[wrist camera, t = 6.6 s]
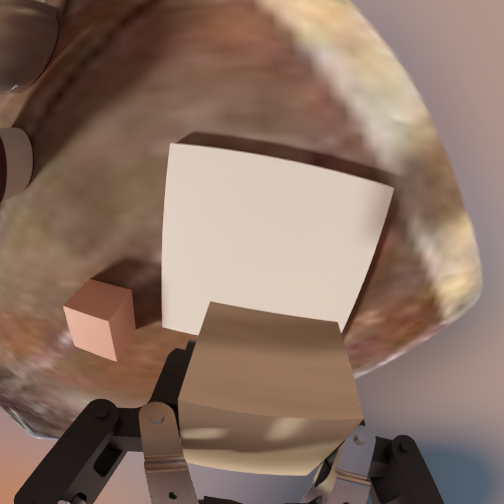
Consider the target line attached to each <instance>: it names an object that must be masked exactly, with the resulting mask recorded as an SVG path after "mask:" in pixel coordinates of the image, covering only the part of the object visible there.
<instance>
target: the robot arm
mask: <svg viewBox="0 0 504 504" xmlns="http://www.w3.org/2000/svg"><path fill="white" fill-rule="evenodd" d="M57 11H58V8H57V7H54V6H51V5H48V4H46V3H43V2H40V1H37V0H0V94H8V93H20V92H22V91H24V90H26V89H27V88H28V87H30V86H31V85H32V84H33V83H34V82H35V81H36V80H37V78H38V77H39V76H40V74H41V73H42V71H43V70H44V68H45V66H46V65H47V63H48V61H49V59H50V57H51V55H52V52H53V50H54V47H55V44H56V40H57V36H58V22H57V19H56V13H57ZM196 342H197V341H194V340H189V341H188V344H187V347H186V350H182V349H178V348H176V349H174V350H173V351H172V352H171V353H170V354H169V355H168V357H167V359H166V362H165V365H164V367H163V369H162V373H161V374H160V377H159V379H158V381H157V384H156V386H155V389H154V392H153V394H152V397H151V399H150V400H149V402H148V403H147V404H145V405H144V406H142V407H139V408H117V407H116V406H115V405H114V404H113V403H112V402H111V401H109V400H106V399H96V400H93V401H91V402H90V403H89V404H88V405H87V406H86V407H85V409H84V410H83V411H82V412H81V413H80V415H79V416H78V417H77V418H76V419H75V421H74V422H73V423H72V424H71V426H70V427H69V428H68V429H67V430H66V432H65V433H64V434H63V435H62V437H61V438H60V439H59V440H58V441H57V443H56V444H55V445H54V446H53V448H52V449H51V450H50V451H49V453H48V454H47V455H46V456H45V458H44V459H43V460H42V461H41V463H40V464H39V465H38V467H37V468H36V469H35V470H34V472H33V473H32V474H31V475H30V477H29V478H28V479H27V481H26V482H25V483H24V485H23V486H22V487H21V488H20V490H19V491H18V492H17V494H16V495H15V498H14V504H93V503H94V502H95V500H96V499H97V497H98V495H99V494H100V492H101V491H102V489H103V488H104V486H105V485H106V483H107V482H108V480H109V479H110V477H111V476H112V474H113V473H114V471H115V470H116V468H117V467H118V465H119V464H120V462H121V461H122V459H123V457H124V456H125V454H126V453H127V451H136V452H143V453H144V459H145V462H144V468H145V474H146V479H147V484H148V489H149V493H150V498H151V502H152V504H242V503H239V502H236V501H233V500H227V499H220V498H214V497H208V496H204V499H203V500H198V499H197V496H196V493H195V490H194V487H193V483H192V480H191V476H190V473H189V469H188V466H187V463H186V460H185V457H184V454H183V450H182V446H181V442H180V426H179V412H178V397H179V394H180V391H181V388H182V385H183V382H184V378H185V375H186V372H187V369H188V366H189V363H190V360H191V357H192V354H193V351H194V348H195V345H196ZM368 494H370V497H371V500H372V502H373V504H444V502H443V500H442V498H441V496H440V493H439V491H438V489H437V487H436V485H435V482H434V480H433V478H432V476H431V474H430V472H429V470H428V467H427V465H426V463H425V461H424V459H423V457H422V455H421V453H420V451H419V449H418V447H417V445H416V443H415V441H414V440H413V439H412V438H411V437H409V436H406V435H399V436H397V437H396V438H394V439H393V440H390V439H385V438H380V437H377V436H375V435H374V433H373V431H372V430H371V429H369V428H368V427H366V426H365V422H364V419H363V420H362V421H361V423H360V424H359V425H358V426H357V427H356V428H355V429H354V430H353V431H352V432H351V434H350V435H349V436H348V437H347V438H346V439H345V440H344V441H343V442H342V443H341V444H340V445H339V446H338V447H337V448H336V449H335V450H334V451H333V452H332V453H331V454H330V455H329V456H328V457H327V458H325V459H324V460H323V461H322V462H321V464H320V466H319V468H318V471H317V473H316V476H315V478H314V480H313V482H312V485H311V487H310V489H309V490H308V492H307V493H306V494H305V495H304V497H303V498H302V500H301V502H300V503H293V504H366V501H367V497H368ZM286 504H290V503H286ZM291 504H292V503H291Z"/></svg>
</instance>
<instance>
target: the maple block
mask: <svg viewBox="0 0 504 504" xmlns="http://www.w3.org/2000/svg"><path fill="white" fill-rule="evenodd" d="M178 412H179V426H180V439H181V446H182V450H183V454H184V457H185V460H186V462H188V463H192V464H197V465H202V466H207V467H212V468H219V469H225V470H231V471H239V472H248V473H259V474H273V475H307V474H309V473H310V472H311V471H312V470H313V469H314V468H316V467H317V466H318V465H319V464H320V463H321V462H322V461H323V460H324V459H325V458H327V457H328V456H329V455H330V454H331V453H332V452H333V451H334V450H335V449H336V448H337V447H338V446H339V445H340V444H341V443H342V442H343V441H344V440H345V439H346V438H347V437H348V436H349V435H350V434H351V432H352V431H353V430H354V429H355V428H356V427H357V426H358V425H359V424H360V423H361V421H362V420H363V419H364V418H363V413H362V410H361V405H360V401H359V397H358V393H357V389H356V385H355V381H354V377H353V373H352V370H351V366H350V362H349V359H348V355H347V352H346V348H345V345H344V341H343V338H342V334H341V331H340V328H339V324H338V322H334V321H326V320H319V319H312V318H305V317H298V316H291V315H285V314H279V313H272V312H266V311H260V310H255V309H249V308H243V307H238V306H232V305H227V304H222V303H217V302H212V301H210V303H209V306H208V309H207V312H206V315H205V318H204V321H203V324H202V327H201V330H200V333H199V336H198V339H197V342H196V345H195V348H194V351H193V354H192V357H191V360H190V363H189V366H188V369H187V372H186V375H185V378H184V382H183V385H182V388H181V391H180V394H179V397H178Z"/></svg>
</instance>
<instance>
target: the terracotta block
mask: <svg viewBox="0 0 504 504" xmlns="http://www.w3.org/2000/svg"><path fill="white" fill-rule="evenodd" d="M63 307H64V311H65V315H66V318H67V322H68V325H69V329H70V332H71V335H72V339H73V342H74V345H75V346H76V347H79V348H81V349H84V350H86V351H89V352H91V353H94V354H97V355H99V356H102V357H105V358H108V359H111V360H113V361H116V362H117V361H118V359H119V358H120V356H121V354H122V352H123V351H124V349H125V347H126V345H127V344H128V342H129V340H130V339H131V337H132V335H133V333H134V332H135V330H136V326H135V317H134V307H133V296H132V290H130V289H126V288H122V287H118V286H115V285H111V284H107V283H103V282H100V281H96V280H92V279H89V280H88V281H87V282H86V283H85V284H84V285H83V286H82V287H81V288H80V289H79V290H78V291H77V292H76V293H75V294H74V295H73V296H72V297H71V298H70V299H69V300H68V301H67V302H66V303H65V304H64V305H63Z"/></svg>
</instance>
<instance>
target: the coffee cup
mask: <svg viewBox="0 0 504 504" xmlns="http://www.w3.org/2000/svg"><path fill="white" fill-rule="evenodd" d="M32 168H33V152H32V147H31V143H30V140H29V138H28V136H27V134H26V133H25V132H24V131H23V130H22V129H19V128H0V204H2V203H4V202H5V201H7V200H9V199H11V198H13V197H15V196H16V195H18V194H20V193H21V192H22V191H23V190H25V188H26V187H27V185H28V183H29V180H30V177H31V173H32Z"/></svg>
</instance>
